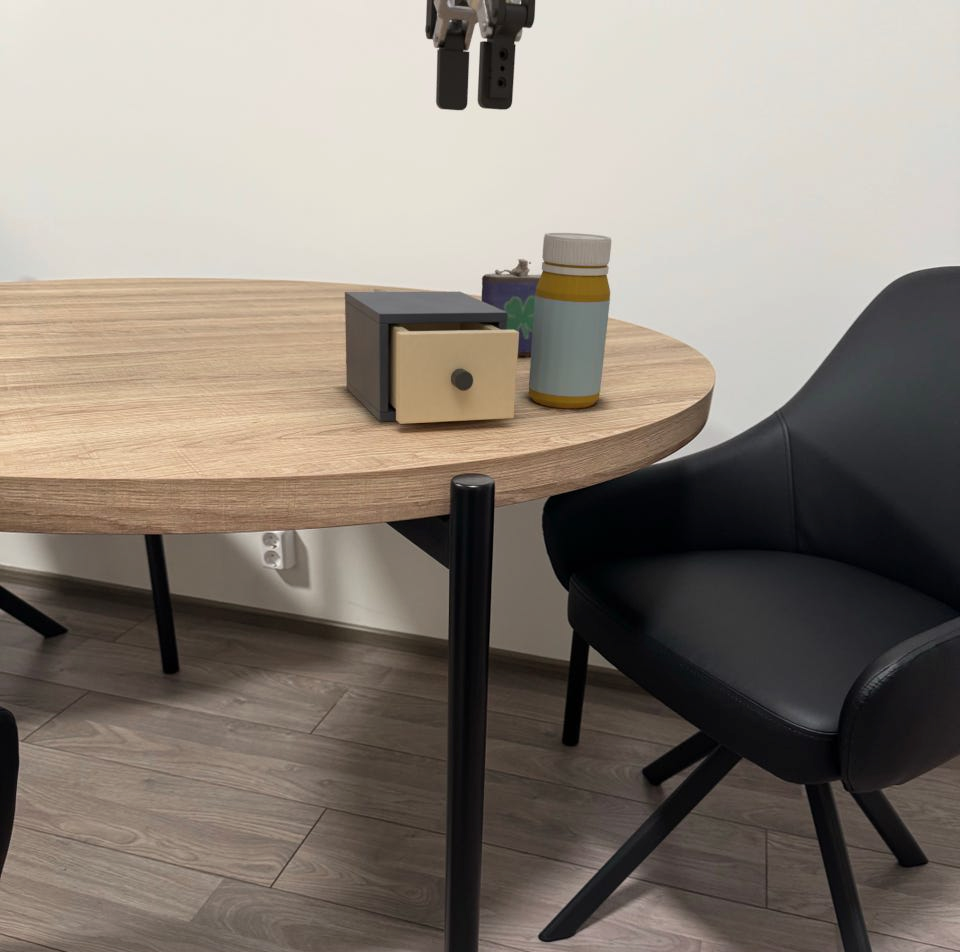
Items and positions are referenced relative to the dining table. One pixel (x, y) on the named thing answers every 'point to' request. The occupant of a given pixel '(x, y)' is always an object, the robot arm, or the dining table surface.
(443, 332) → the drawer
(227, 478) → the dining table surface
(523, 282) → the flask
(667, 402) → the dining table surface
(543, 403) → the bottle
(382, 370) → the cabinet
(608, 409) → the dining table surface
